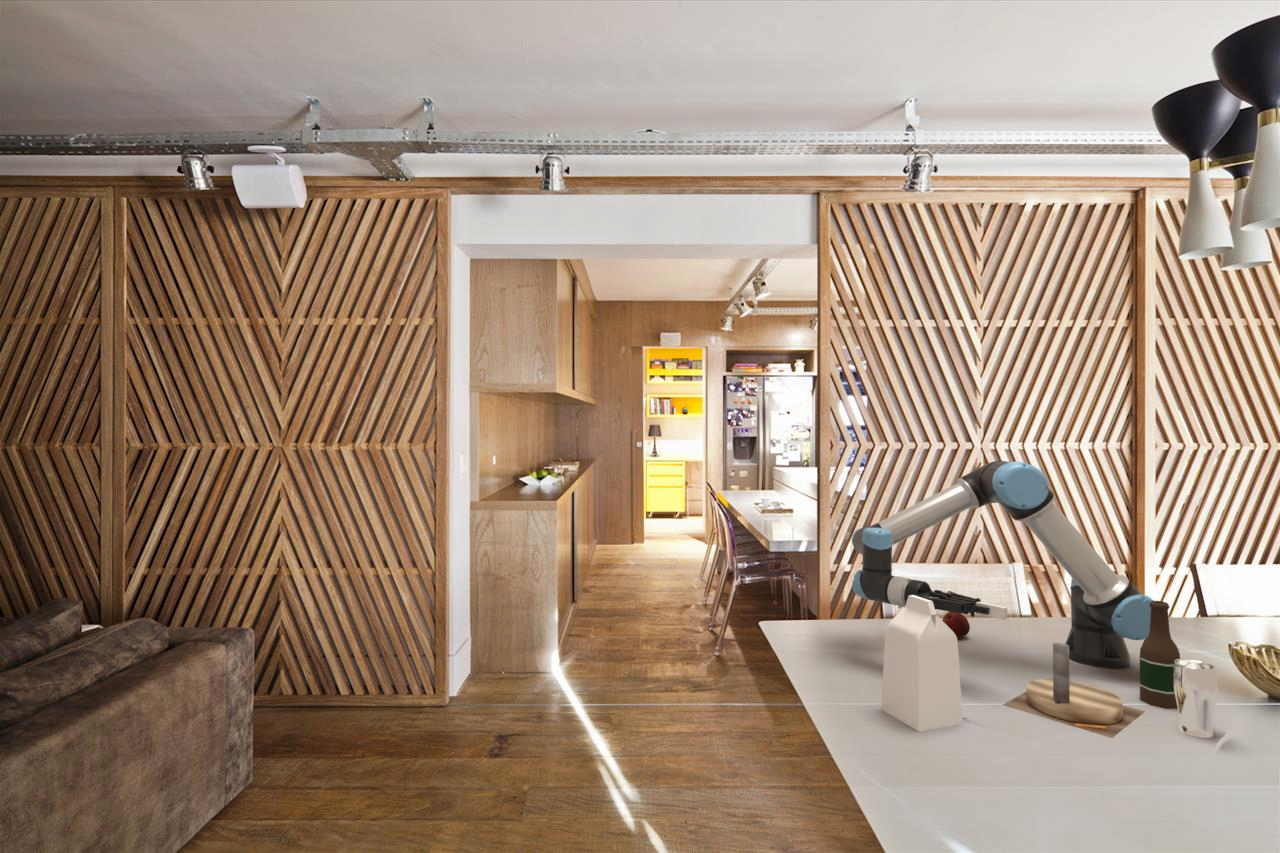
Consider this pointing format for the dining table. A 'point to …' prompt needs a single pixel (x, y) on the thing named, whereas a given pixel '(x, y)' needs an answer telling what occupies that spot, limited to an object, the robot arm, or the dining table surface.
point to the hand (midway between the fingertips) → (1005, 613)
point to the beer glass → (1195, 696)
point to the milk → (921, 669)
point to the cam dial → (1072, 695)
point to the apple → (957, 623)
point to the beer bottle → (1158, 660)
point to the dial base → (1103, 729)
